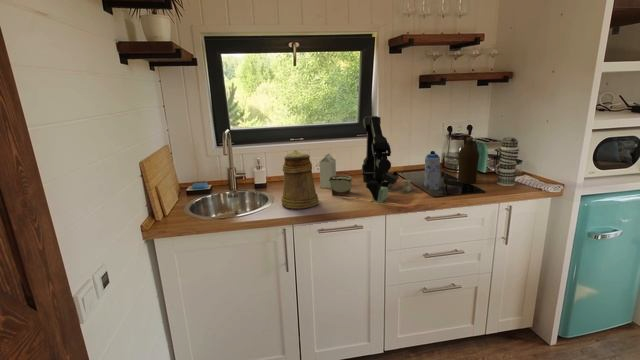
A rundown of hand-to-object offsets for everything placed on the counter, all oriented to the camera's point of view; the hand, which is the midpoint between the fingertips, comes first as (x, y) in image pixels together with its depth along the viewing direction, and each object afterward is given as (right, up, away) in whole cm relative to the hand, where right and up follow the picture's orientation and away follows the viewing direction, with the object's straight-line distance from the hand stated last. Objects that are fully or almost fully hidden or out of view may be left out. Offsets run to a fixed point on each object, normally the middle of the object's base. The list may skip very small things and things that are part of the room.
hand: (380, 198), depth 169 cm
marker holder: (+10, +2, +13) cm, 17 cm away
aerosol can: (+31, +4, +18) cm, 36 cm away
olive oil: (+54, +8, +27) cm, 60 cm away
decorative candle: (+72, +7, +19) cm, 75 cm away
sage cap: (0, -1, 0) cm, 2 cm away
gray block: (+5, +4, +16) cm, 18 cm away
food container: (-18, +1, +13) cm, 22 cm away
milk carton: (-24, +5, +29) cm, 39 cm away
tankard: (-40, -3, +4) cm, 40 cm away
